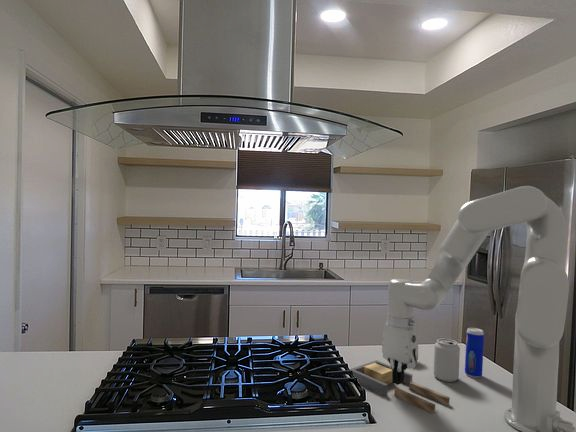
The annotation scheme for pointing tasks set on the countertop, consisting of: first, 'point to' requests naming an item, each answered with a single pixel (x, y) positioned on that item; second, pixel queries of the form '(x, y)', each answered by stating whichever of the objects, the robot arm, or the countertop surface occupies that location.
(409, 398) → the chute
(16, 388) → the countertop surface
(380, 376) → the ochre block
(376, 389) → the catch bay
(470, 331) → the beverage can
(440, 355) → the can
